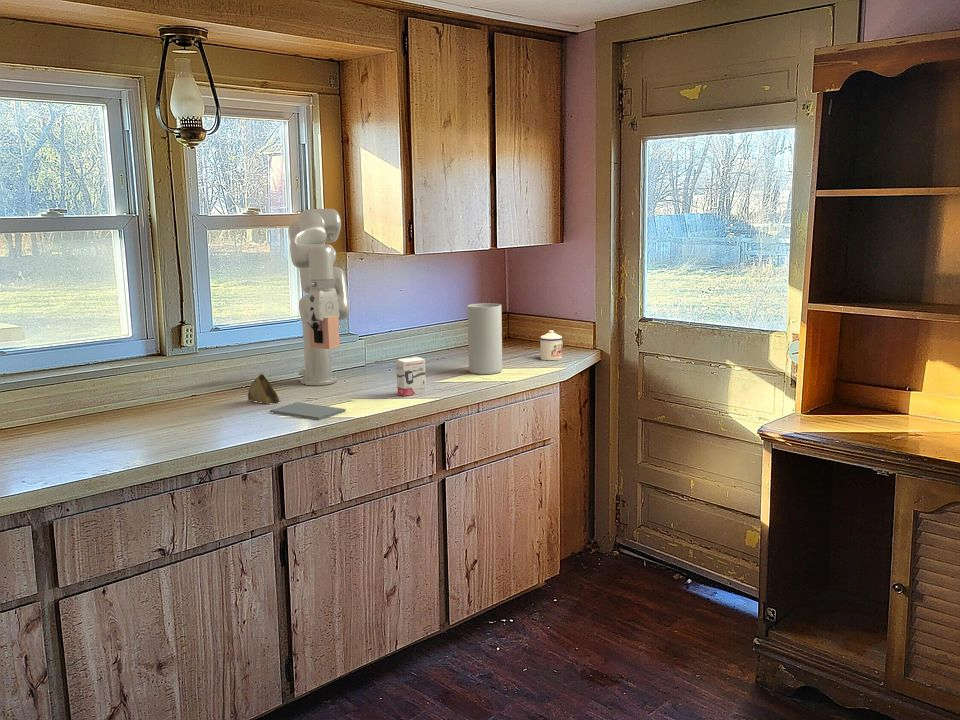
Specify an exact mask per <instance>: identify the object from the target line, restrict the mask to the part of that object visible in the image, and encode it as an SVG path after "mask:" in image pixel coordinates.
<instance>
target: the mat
mask: <svg viewBox="0 0 960 720" xmlns="http://www.w3.org/2000/svg"><path fill="white" fill-rule="evenodd" d="M345 411H346V412H347V408H343V407H342V408H341V407H340V408H339V407H335V406H327V405H321V404H320V405H319V404H312V403H305V402H296V401H295V402H293V403H291V404H286V405H283V406H279V407H276V408H272V409H269V413H270V412H273V413H272V414H276V413H278V414H277V415H282V414H284V415H283V416H289V415H290V417H296V418H301V419H302V418H304V419H309V420H316V421H320V420H323V419H327V418H330V417H334V416H336V414H337V415H339V413H340V414H343V413H345ZM342 412H343V413H342Z"/></svg>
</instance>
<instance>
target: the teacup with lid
mask: <svg viewBox="0 0 960 720" xmlns="http://www.w3.org/2000/svg"><path fill="white" fill-rule="evenodd" d="M539 341H540V342H539V343H540V348H539V349H540V360H542V361H546V360H557V361H560V359H561V360H562V359H563V344H564V343H563V336H562V335H560V334H558V333H557V332H555V331H554V330H551V329H550V330H548V332H547V333H545V334H543V335H541V336H540V337H539Z"/></svg>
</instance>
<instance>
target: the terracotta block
mask: <svg viewBox="0 0 960 720" xmlns="http://www.w3.org/2000/svg"><path fill="white" fill-rule="evenodd" d="M316 321H319V320H316ZM339 321H340V320H338V316H332V317H326V318H325V321H324V322H322V326H321V331H322V334H323V343H315V342H314V331H313V330H312V328H311V326H310V325H309V332H310V348H321V349H331V350H332V349H336V348H340V346H341V345H340V327H339V326H340V325H339V324H340V323H339ZM316 324H317V326H318V323H316Z"/></svg>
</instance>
